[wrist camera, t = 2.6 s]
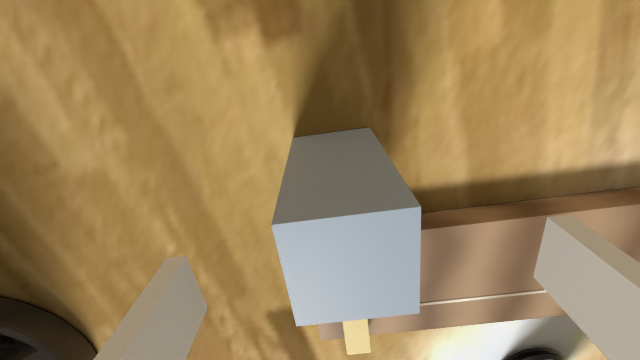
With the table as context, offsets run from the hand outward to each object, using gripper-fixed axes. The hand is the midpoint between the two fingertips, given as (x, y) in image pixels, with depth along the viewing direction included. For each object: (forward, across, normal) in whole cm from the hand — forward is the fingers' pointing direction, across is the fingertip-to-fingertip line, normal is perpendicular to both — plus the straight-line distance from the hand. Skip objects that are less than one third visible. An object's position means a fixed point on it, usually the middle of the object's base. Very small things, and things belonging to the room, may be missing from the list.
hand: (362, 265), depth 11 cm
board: (+10, -11, +10) cm, 18 cm away
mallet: (+10, +1, +6) cm, 11 cm away
